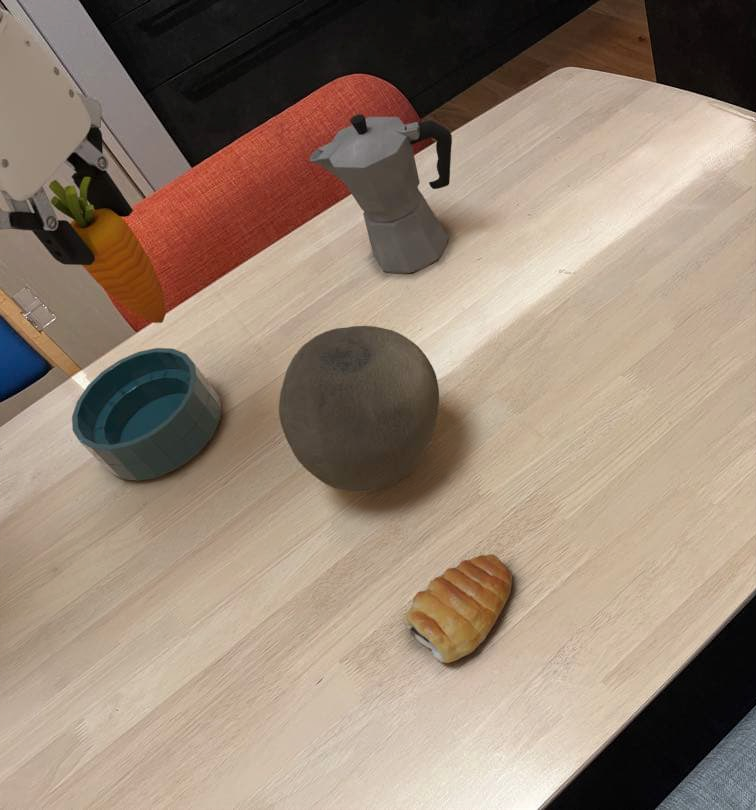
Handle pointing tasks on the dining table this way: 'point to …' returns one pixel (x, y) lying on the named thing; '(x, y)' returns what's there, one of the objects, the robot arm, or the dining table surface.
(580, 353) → the dining table surface
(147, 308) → the carrot
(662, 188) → the dining table surface
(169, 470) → the bowl
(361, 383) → the brown coconut
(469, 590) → the pastry
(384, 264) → the coffeepot
